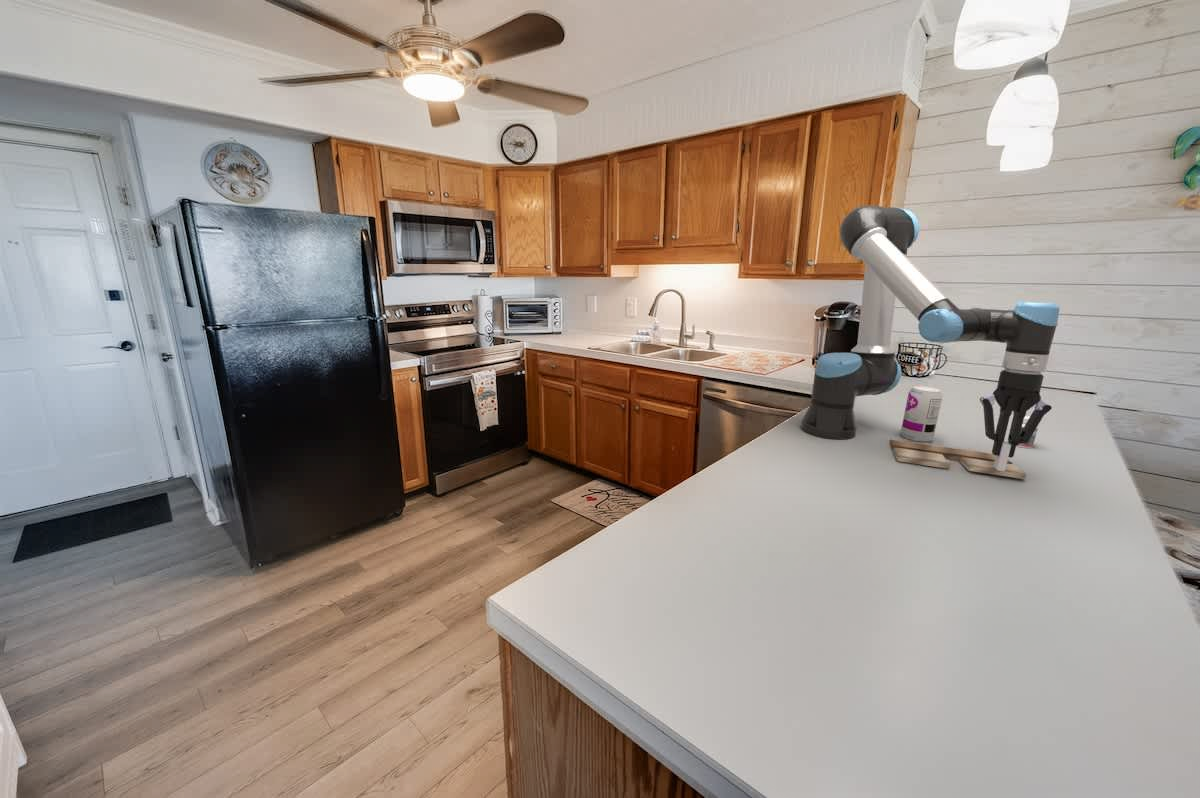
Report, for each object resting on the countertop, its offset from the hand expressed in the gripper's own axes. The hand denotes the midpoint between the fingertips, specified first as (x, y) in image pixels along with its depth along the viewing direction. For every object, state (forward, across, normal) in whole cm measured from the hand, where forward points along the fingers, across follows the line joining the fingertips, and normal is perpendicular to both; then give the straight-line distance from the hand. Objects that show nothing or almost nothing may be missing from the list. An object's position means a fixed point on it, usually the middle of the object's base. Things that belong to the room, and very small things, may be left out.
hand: (999, 468), depth 114 cm
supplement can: (+1, -13, +25) cm, 28 cm away
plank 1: (+2, -15, +4) cm, 16 cm away
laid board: (+2, -8, +12) cm, 14 cm away
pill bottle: (+1, +14, +32) cm, 35 cm away
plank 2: (+2, 0, +4) cm, 5 cm away
